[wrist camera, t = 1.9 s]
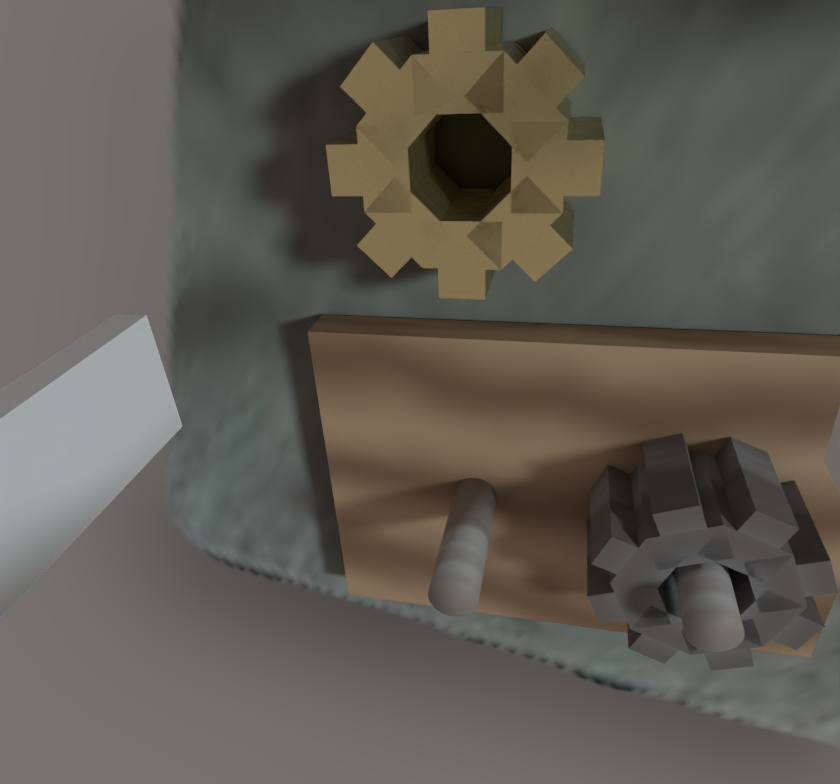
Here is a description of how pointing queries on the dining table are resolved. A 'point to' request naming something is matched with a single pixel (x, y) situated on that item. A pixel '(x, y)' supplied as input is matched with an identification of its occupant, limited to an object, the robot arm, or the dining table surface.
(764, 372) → the gear board
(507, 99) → the brass gear
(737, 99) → the dining table surface
